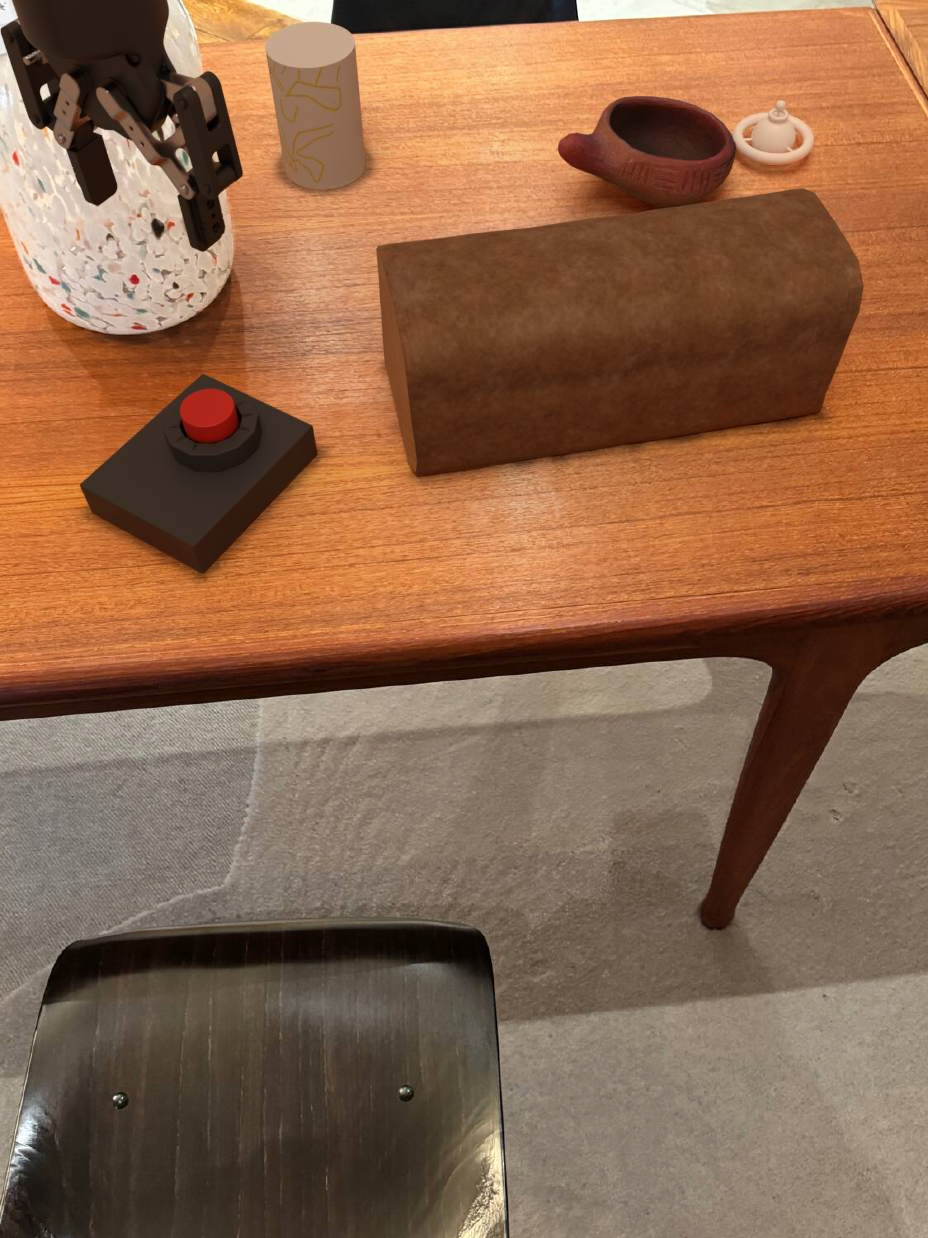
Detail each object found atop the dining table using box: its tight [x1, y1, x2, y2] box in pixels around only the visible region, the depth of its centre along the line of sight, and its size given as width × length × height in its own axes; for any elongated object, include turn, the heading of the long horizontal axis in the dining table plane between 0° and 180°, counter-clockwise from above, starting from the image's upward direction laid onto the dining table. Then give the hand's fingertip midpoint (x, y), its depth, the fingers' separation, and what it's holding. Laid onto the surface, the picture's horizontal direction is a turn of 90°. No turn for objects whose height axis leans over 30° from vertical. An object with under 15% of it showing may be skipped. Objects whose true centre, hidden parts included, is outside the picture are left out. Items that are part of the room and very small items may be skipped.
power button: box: [180, 389, 238, 443], centre depth 79 cm, size 4×4×2 cm
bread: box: [375, 187, 865, 476], centre depth 82 cm, size 14×34×14 cm, turn 102°
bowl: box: [557, 95, 737, 208], centre depth 99 cm, size 16×13×8 cm
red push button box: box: [79, 373, 319, 574], centre depth 80 cm, size 14×11×5 cm
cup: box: [264, 21, 367, 191], centre depth 101 cm, size 8×8×12 cm
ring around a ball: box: [731, 99, 815, 166], centre depth 104 cm, size 8×6×8 cm
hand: (154, 220), depth 65 cm, fingers open, 8 cm apart
